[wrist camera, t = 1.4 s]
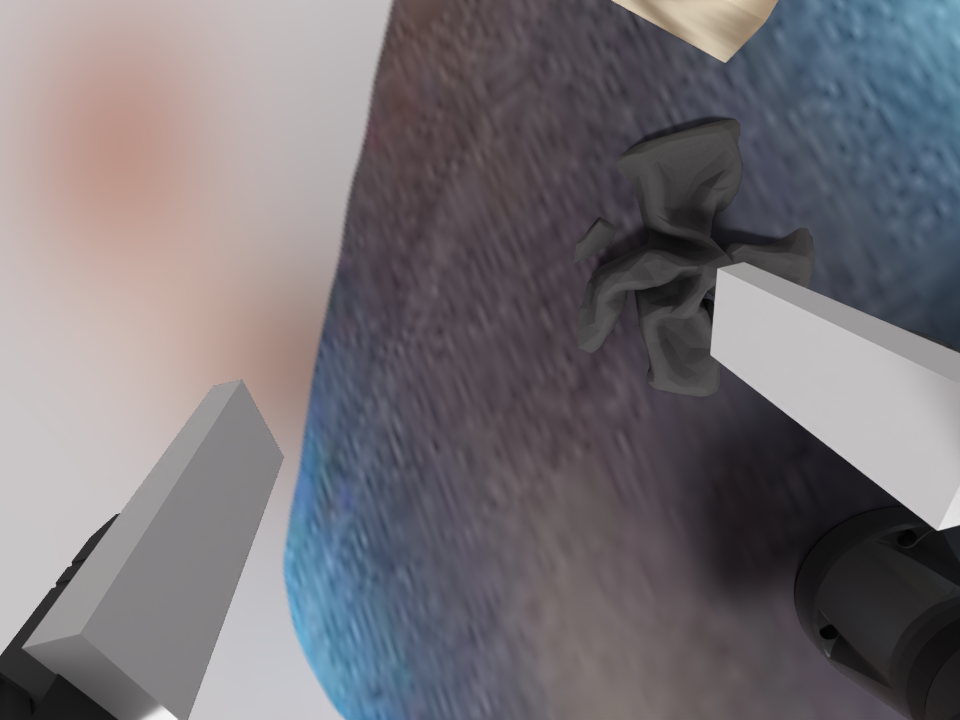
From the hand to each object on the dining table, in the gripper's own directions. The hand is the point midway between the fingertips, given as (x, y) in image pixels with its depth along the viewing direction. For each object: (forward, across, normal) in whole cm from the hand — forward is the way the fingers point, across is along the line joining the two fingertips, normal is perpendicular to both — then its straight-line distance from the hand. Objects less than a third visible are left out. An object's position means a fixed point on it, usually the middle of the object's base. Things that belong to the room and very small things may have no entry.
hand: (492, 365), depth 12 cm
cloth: (+20, -16, +8) cm, 27 cm away
